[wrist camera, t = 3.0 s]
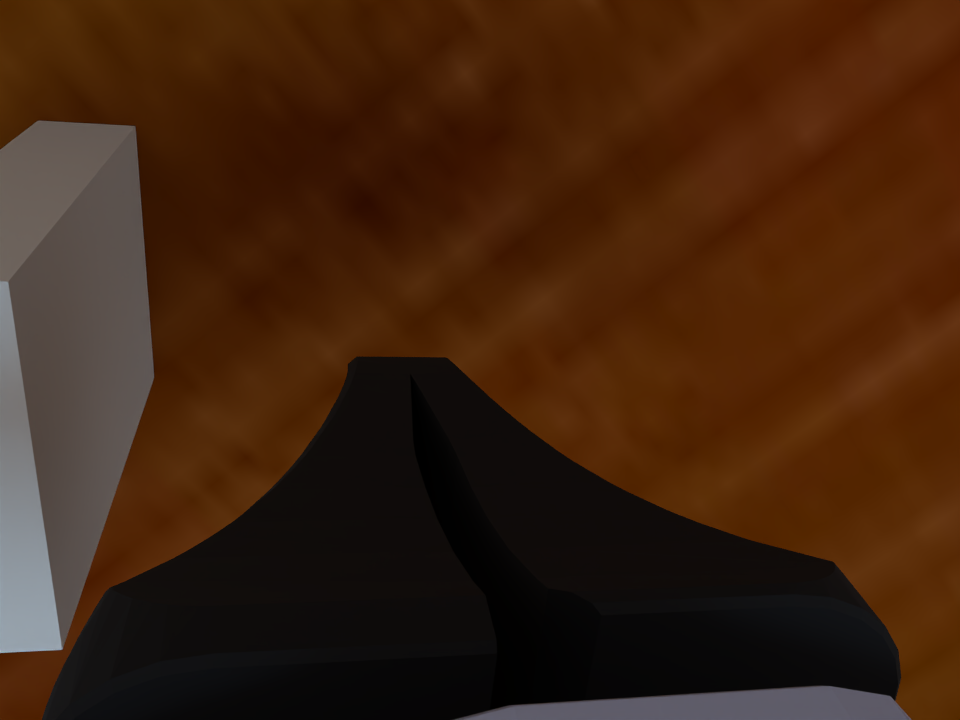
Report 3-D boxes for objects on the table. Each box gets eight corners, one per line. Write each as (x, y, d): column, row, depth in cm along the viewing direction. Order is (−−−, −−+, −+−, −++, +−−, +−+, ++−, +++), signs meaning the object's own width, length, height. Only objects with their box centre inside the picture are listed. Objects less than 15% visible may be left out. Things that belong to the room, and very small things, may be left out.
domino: (68, 376, 18) (-76, 656, 11) (37, 120, 15) (-168, 277, 9) (154, 377, 18) (62, 649, 11) (135, 126, 16) (8, 281, 9)
